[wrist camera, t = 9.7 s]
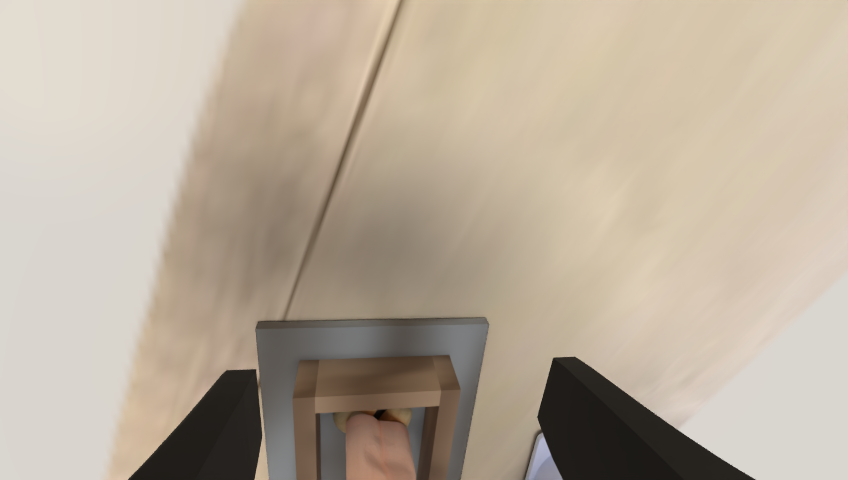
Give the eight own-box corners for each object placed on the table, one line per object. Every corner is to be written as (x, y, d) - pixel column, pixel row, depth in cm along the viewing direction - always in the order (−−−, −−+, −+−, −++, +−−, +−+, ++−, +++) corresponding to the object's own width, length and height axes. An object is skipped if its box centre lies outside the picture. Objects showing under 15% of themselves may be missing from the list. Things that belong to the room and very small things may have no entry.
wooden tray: (485, 317, 22) (505, 355, 19) (452, 505, 28) (463, 555, 25) (258, 321, 20) (241, 365, 17) (275, 524, 26) (265, 582, 23)
